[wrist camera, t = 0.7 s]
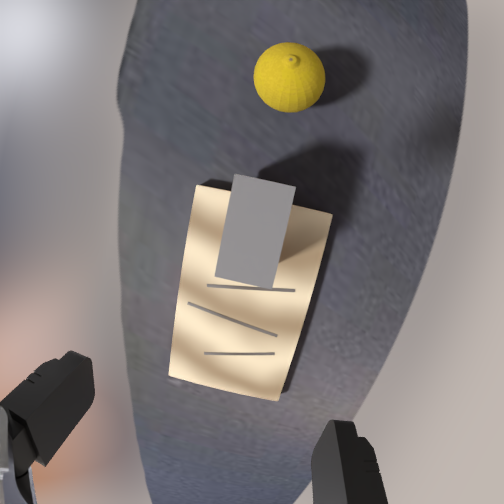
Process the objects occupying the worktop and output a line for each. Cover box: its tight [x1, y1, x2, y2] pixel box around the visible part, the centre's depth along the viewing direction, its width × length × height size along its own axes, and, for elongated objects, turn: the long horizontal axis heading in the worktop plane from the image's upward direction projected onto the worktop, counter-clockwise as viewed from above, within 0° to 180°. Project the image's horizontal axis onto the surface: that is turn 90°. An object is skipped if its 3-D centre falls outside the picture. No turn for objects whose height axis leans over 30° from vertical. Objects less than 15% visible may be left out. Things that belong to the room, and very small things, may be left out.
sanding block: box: [214, 174, 296, 290], centre depth 23 cm, size 7×4×6 cm, turn 168°
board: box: [169, 185, 333, 401], centre depth 29 cm, size 20×12×1 cm, turn 168°
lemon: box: [254, 42, 325, 112], centre depth 21 cm, size 6×6×8 cm
